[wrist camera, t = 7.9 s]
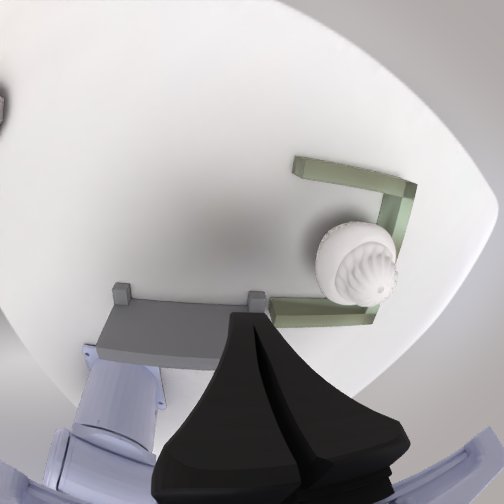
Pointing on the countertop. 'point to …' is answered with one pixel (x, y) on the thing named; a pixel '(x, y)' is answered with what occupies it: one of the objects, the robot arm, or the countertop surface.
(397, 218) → the bay
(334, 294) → the muffin
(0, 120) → the salt shaker
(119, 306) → the screen
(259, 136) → the countertop surface
